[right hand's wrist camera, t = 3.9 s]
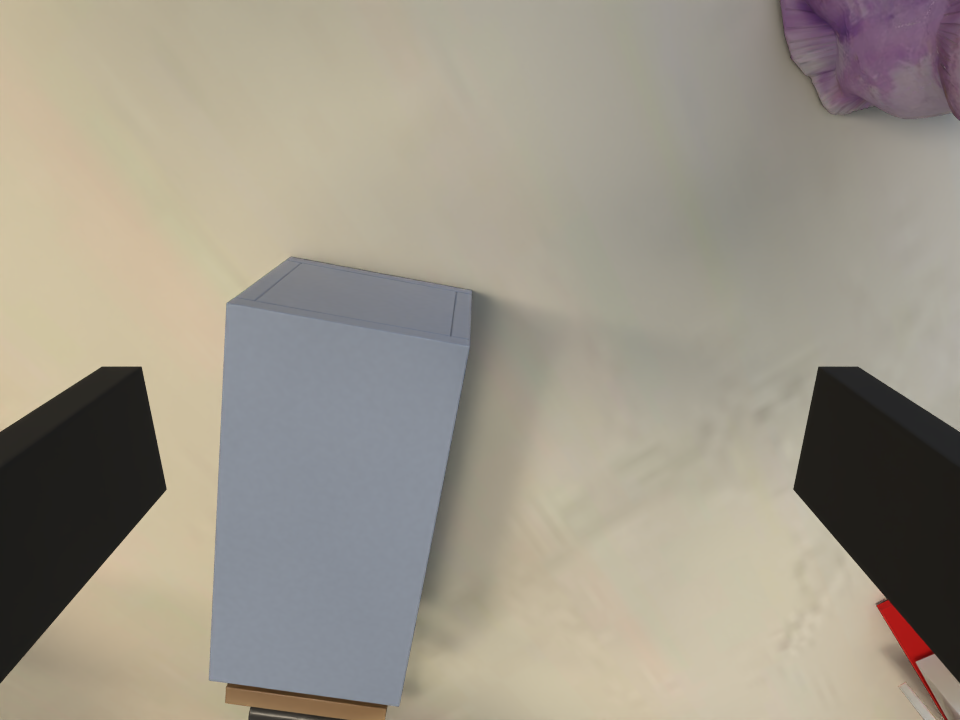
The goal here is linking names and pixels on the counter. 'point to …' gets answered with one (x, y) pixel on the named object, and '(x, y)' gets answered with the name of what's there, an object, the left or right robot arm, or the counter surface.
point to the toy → (924, 668)
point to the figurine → (878, 53)
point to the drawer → (300, 705)
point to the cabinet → (331, 475)
